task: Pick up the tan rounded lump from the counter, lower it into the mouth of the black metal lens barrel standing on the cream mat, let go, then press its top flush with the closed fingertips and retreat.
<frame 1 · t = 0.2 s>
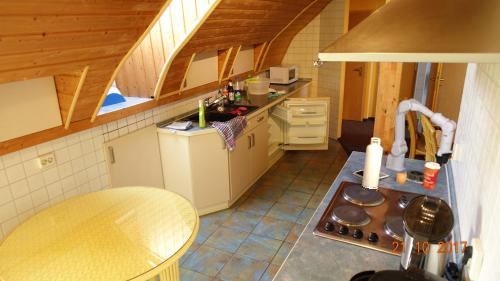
hand: (441, 165, 199), 10 cm above the kitchen counter, fingers open, 7 cm apart
paper cup: (428, 188, 193), on the kitchen counter
bottle: (369, 188, 191), on the kitchen counter
barrel: (415, 178, 205), resting on mat
tan rounded lump: (400, 183, 199), on the kitchen counter
mat: (414, 178, 206), on the kitchen counter
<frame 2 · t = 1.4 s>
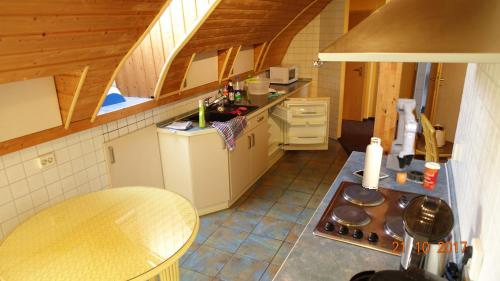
hand: (404, 166, 196), 10 cm above the kitchen counter, fingers open, 7 cm apart
nothing on the kitchen counter moved.
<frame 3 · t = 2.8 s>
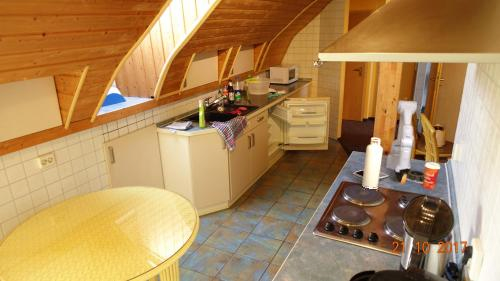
hand: (401, 180, 198), 1 cm above the kitchen counter, fingers closed on tan rounded lump, 5 cm apart
tan rounded lump: (400, 182, 199), on the kitchen counter, touching gripper
everything else where it was.
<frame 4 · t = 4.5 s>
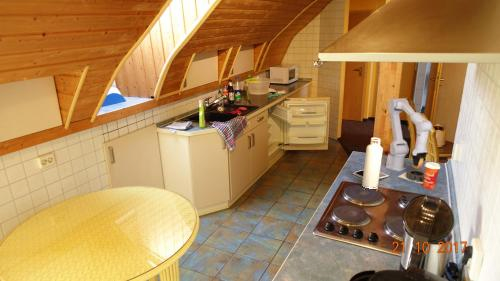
hand: (417, 164, 202), 9 cm above the kitchen counter, fingers closed on tan rounded lump, 5 cm apart
tan rounded lump: (417, 167, 203), point 7 cm above the kitchen counter, touching gripper
everything else where it was.
when the fingers open (4 cm above the kitchen counter, at t = 6.0 s): tan rounded lump drops 1 cm, resting on barrel.
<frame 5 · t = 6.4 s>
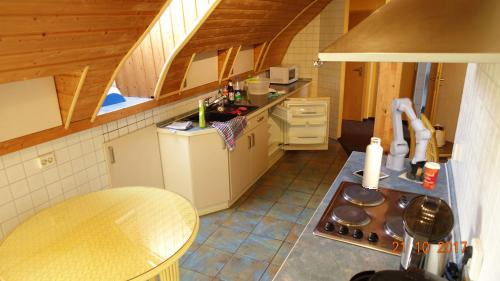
hand: (416, 172, 204), 4 cm above the kitchen counter, fingers open, 7 cm apart
tan rounded lump: (415, 177, 205), point 1 cm above the kitchen counter, touching barrel
everything else where it was.
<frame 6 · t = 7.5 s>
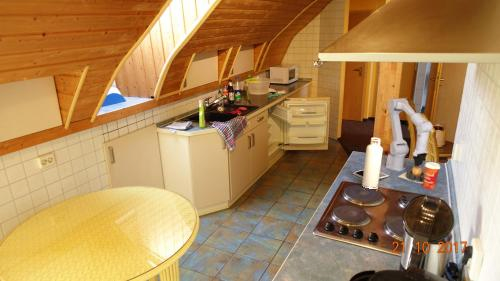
hand: (418, 165, 203), 8 cm above the kitchen counter, fingers open, 3 cm apart
nothing on the kitchen counter moved.
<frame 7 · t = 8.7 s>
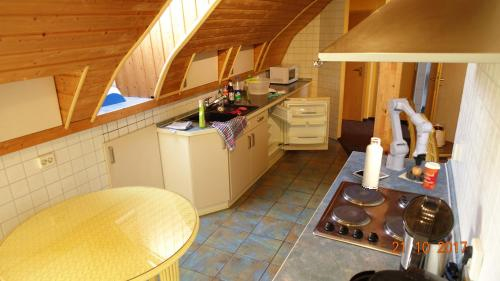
hand: (417, 165, 203), 8 cm above the kitchen counter, fingers closed
nothing on the kitchen counter moved.
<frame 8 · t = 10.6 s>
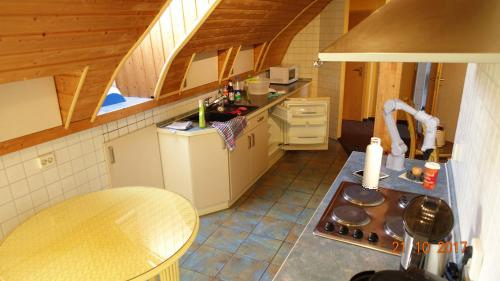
hand: (425, 160, 207), 10 cm above the kitchen counter, fingers closed
nothing on the kitchen counter moved.
at the end: tan rounded lump 0.0 cm from the barrel (horizontally); tan rounded lump point 1.0 cm above the kitchen counter; tan rounded lump tilted 0° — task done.
